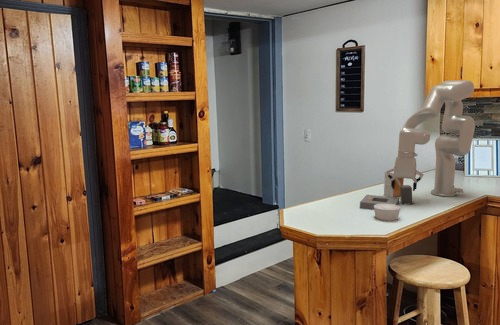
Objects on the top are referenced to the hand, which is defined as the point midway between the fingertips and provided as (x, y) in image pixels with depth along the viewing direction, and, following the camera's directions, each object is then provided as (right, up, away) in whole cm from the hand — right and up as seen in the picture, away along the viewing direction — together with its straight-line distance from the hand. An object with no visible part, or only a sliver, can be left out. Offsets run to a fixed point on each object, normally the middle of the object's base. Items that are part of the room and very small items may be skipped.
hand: (403, 189), depth 216 cm
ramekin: (-15, -12, -22) cm, 29 cm away
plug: (+2, -7, +2) cm, 7 cm away
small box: (+1, -5, +17) cm, 18 cm away
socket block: (-13, -8, -3) cm, 15 cm away
